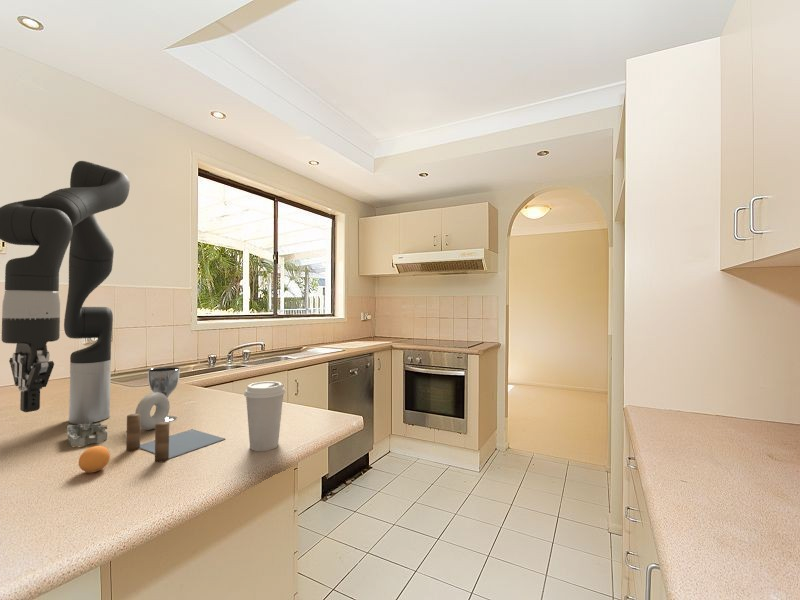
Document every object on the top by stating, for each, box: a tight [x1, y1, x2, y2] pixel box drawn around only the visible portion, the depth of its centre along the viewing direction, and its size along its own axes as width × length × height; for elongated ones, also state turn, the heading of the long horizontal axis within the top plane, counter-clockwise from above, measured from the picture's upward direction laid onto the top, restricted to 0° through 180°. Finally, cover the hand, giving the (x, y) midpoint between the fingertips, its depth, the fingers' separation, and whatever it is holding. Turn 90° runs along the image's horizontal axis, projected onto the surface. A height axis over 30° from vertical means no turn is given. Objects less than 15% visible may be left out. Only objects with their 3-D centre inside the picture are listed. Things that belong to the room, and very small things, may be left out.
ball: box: [78, 445, 111, 473], centre depth 76 cm, size 5×5×5 cm
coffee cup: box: [243, 380, 286, 452], centre depth 91 cm, size 10×10×15 cm
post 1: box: [125, 413, 141, 452], centre depth 88 cm, size 3×3×8 cm
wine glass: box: [147, 366, 181, 423], centre depth 110 cm, size 8×8×15 cm
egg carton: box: [66, 421, 108, 447], centre depth 93 cm, size 11×8×4 cm
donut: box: [134, 392, 171, 431], centre depth 102 cm, size 10×4×10 cm, turn 170°
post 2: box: [154, 422, 170, 463], centre depth 82 cm, size 3×3×8 cm
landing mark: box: [139, 428, 226, 460], centre depth 92 cm, size 14×14×1 cm
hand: (30, 410), depth 67 cm, fingers closed
